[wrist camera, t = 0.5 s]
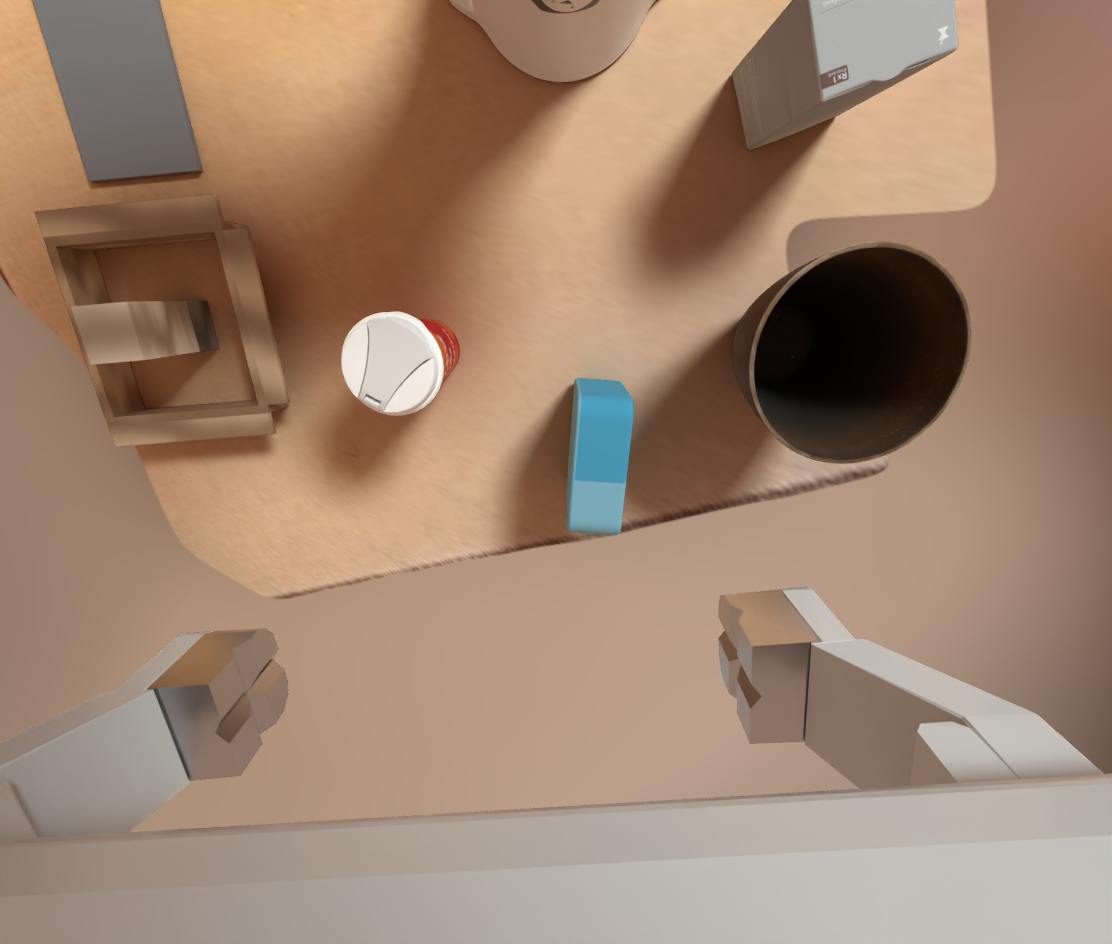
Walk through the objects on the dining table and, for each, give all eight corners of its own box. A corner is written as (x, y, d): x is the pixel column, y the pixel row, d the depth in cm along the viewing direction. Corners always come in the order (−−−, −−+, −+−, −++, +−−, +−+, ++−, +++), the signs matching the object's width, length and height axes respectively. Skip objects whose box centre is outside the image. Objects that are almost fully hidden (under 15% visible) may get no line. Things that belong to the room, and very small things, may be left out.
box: (161, 304, 52) (70, 306, 42) (206, 300, 52) (126, 301, 42) (175, 352, 53) (90, 364, 44) (219, 348, 53) (144, 360, 44)
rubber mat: (35, -8, 44) (28, -12, 44) (153, -22, 44) (148, -26, 43) (94, 182, 49) (88, 181, 48) (202, 171, 48) (198, 170, 48)
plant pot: (777, 221, 49) (873, 188, 34) (885, 330, 52) (1019, 344, 37) (663, 351, 53) (704, 374, 37) (770, 446, 55) (849, 503, 40)
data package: (608, 492, 57) (619, 541, 46) (565, 490, 57) (566, 538, 46) (620, 378, 54) (635, 401, 42) (574, 375, 54) (577, 397, 42)
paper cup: (450, 402, 54) (413, 437, 41) (379, 365, 53) (318, 388, 40) (485, 332, 52) (458, 344, 39) (412, 291, 51) (359, 290, 38)
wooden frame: (71, 218, 50) (30, 211, 46) (262, 199, 49) (237, 191, 45) (143, 436, 56) (112, 447, 52) (313, 422, 55) (294, 432, 51)
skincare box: (825, 33, 45) (958, -101, 30) (840, 127, 47) (972, 46, 32) (724, 72, 46) (803, -38, 30) (743, 163, 48) (826, 101, 33)
